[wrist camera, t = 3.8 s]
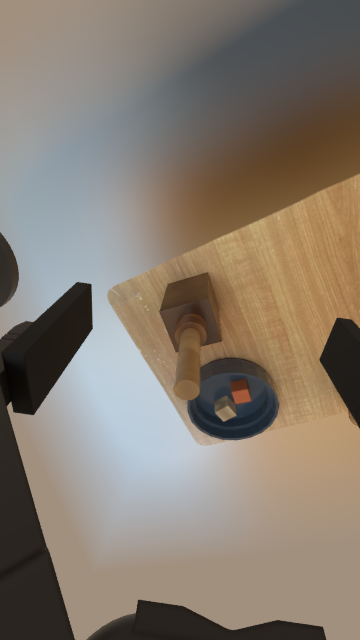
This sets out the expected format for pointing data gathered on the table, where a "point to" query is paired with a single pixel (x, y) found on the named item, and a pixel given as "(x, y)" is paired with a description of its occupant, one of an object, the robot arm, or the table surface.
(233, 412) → the cream block
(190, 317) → the pestle
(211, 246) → the table surface
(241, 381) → the terracotta block
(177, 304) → the stand
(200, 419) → the bowl
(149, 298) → the table surface
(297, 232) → the table surface
